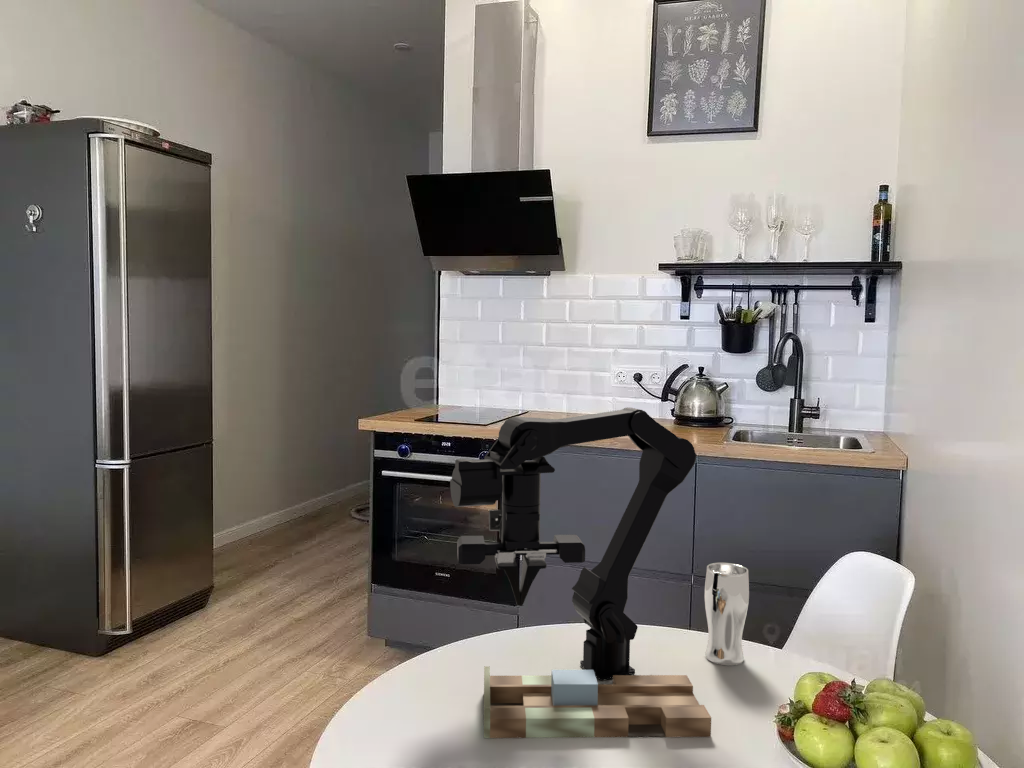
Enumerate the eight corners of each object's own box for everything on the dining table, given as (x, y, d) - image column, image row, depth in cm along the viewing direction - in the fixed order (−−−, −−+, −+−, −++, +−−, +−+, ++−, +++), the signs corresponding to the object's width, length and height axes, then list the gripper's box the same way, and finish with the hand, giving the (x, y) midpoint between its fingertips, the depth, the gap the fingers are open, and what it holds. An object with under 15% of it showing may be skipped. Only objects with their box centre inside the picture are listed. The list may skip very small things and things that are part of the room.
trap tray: (686, 692, 114) (687, 665, 113) (710, 736, 101) (711, 707, 101) (483, 692, 113) (484, 666, 112) (483, 737, 100) (484, 708, 100)
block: (593, 693, 110) (593, 669, 109) (597, 709, 105) (597, 684, 105) (551, 693, 109) (551, 669, 109) (553, 708, 105) (554, 684, 105)
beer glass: (747, 652, 128) (750, 564, 127) (745, 670, 121) (749, 577, 120) (704, 646, 130) (707, 560, 129) (700, 663, 124) (703, 572, 123)
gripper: (573, 490, 123) (571, 586, 124) (456, 491, 121) (455, 588, 122) (587, 507, 112) (584, 611, 113) (458, 508, 110) (457, 614, 111)
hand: (519, 605), depth 115 cm, fingers closed
